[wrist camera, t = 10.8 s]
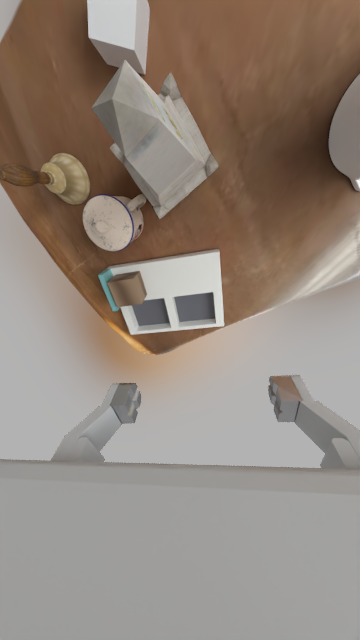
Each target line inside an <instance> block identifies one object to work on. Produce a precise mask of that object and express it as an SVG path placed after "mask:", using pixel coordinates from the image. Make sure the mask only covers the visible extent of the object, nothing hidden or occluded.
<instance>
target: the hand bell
mask: <svg viewBox="0 0 360 640" xmlns="http://www.w3.org/2000/svg"><path fill="white" fill-rule="evenodd" d="M0 179H1V180H4V181H7V182H9V183H11V184H13V185H16V186H31V185H34V184H35V183H41V184H44V185H45V186H46V187H47V188H48V189H49V190H50V191H51V192H53V193H56V194H57V195H58V196H59V197H60V198H61V199H62V200H64V201H65V202H67V203H69V204H73V205H78V204H82V203H83V202H85V201H86V199H87V198H88V196H89V193H90V180H89V177H88V174H87V171H86V170H85V168H84V166H83V165H82V164H81V163H80V161H79V160H77V159H76V158H75V157H73V156H72V155H69V154H67V153H58V154H56V155H54V156H53V157H52V158H51V160H50V162H49V163H45V164H44V165H43V166H42V168H41V172H39V171H32V170H31V169H29V168H27V167H25V166H22V165H18V164H5V165H3V166H1V167H0Z"/></svg>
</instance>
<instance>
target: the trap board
mask: <svg viewBox="0 0 360 640" xmlns="http://www.w3.org/2000/svg"><path fill="white" fill-rule="evenodd" d="M135 271H140V273H141V276H142V279H143V282H144V286H145V289H146V292H147V296H146V297H145V299H144V301H143V303H142V304H138V305H130V306H123V307H117V305H116V303H115V301H114V298H113V296H112V293H111V291H110V288H109V286H108V284H107V282H108V281H110V280H111V279H112V278H113V277H114V276H115V275H117V274H123V273H129V272H135ZM98 277H99V279H100V282H101V284H102V286H103V289H104V291H105V294H106V296H107V298H108V301H109V303H110V306H111V308H112V311H118V309H119V308H121V311H122V313H123V316H124V318H125V321H126V323H127V326H128V329H129V331H130V334H131V335H133V334H143V333H154V332H165V331H176V330H187V329H198V328H209V327H219V326H224V314H223V299H222V283H221V268H220V252H219V249H218V248H217V249H211V250H205V251H199V252H192V253H186V254H180V255H173V256H167V257H161V258H155V259H148V260H142V261H136V262H130V263H123V264H117V265H111V266H109V267H108V268H107V269H106V270H104V271H103V272H102V273H100V274H99V275H98Z"/></svg>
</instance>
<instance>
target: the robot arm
mask: <svg viewBox="0 0 360 640" xmlns="http://www.w3.org/2000/svg"><path fill="white" fill-rule="evenodd" d="M329 152H330V156H331V159H332V162H333V164H334V165H335V167H336V168H337V169H338V170H339V171H340V172H342V173H343V174H345V175H346V176H348V177H349V178H350V180H351V182H352V184H353V187H354V188H355V190H356V191H360V74H359V75H358V76H357V77H356V79H355V80H354V81H353V82H352V84H351V85H350V86H349V88H348V89H347V91H346V92H345V94H344V96H343V97H342V99H341V101H340V103H339V105H338V107H337V109H336V112H335V114H334V117H333V120H332V124H331V128H330V133H329ZM269 381H270V385H269V389H268V391H269V397H270V400H271V403H272V404H273V405H274V412H275V415H276V417H277V420H278V422H295V423H296V425H297V426H298V427H299V428H300V429H301V430H302V431H303V432H304V433H305V434H306V435H308V437H310V439H312V441H313V442H314V443H315V444H316V445H317V446H318V447H319V448H320V449H321V450H323V452H324V453H325V456H324V458H323V460H322V463H321V464H320V466H321V468H292V467H291V468H290V467H256V466H254V467H253V466H220V465H185V464H149V463H112V462H104V460H105V459H104V457H103V456H102V455H101V453H100V450H101V449H102V448H103V447H104V446H105V444H106V443H107V442H108V441H109V439H110V438H111V437H112V436H113V435H114V433H115V432H116V431H117V430H118V428H119V427H120V426H121V425H122V424H123V423H135V420H136V416H137V410H136V409H137V408H138V407H139V406H140V403H141V394H140V391H138V390H137V385H136V383H119V384H118V383H116V384H112V385H111V386H110V389H109V391H108V393H107V395H106V397H105V399H104V401H103V403H102V405H101V406H99V407H98V408H97V409H95V410H94V411H93V412H92V413H91V414H90V415H88V416H87V417H86V418H85V419H84V420H83V421H82V422H80V423H79V424H78V425H77V426H76V427H75V428H74V429H72V430H71V431H70V432H69V433H68V434H67V435H65V436H64V438H63V440H62V442H61V443H60V445H59V447H58V449H57V451H56V452H55V454H54V456H53V457H52V459H51V461H40V460H39V461H38V460H4V459H0V640H360V430H359V429H357V428H356V427H354V426H353V425H351V424H350V423H348V422H347V421H346V420H344V419H343V418H341V417H340V416H339V415H337V414H336V413H334V412H333V411H332V410H330V409H329V408H327V407H326V406H324V405H323V404H322V403H320V402H319V401H315V400H314V399H313V397H312V395H311V394H310V392H309V390H308V388H307V386H306V385H305V383H304V381H303V379H302V378H301V376H300V375H289V376H288V375H287V376H271V377H270V379H269Z"/></svg>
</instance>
